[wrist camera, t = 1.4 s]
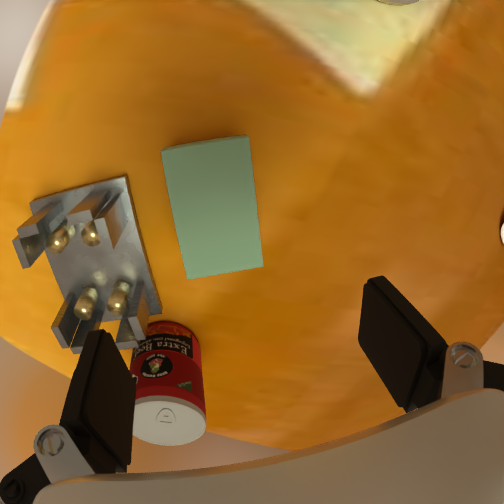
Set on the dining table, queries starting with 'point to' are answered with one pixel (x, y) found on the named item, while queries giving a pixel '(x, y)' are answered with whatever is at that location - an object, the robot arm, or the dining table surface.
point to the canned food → (168, 386)
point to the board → (214, 205)
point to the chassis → (93, 261)
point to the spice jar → (502, 232)
